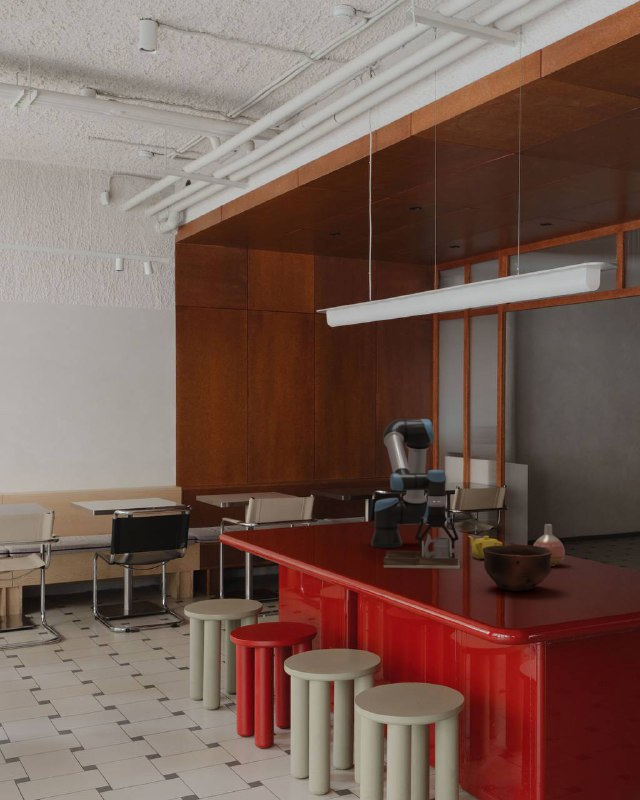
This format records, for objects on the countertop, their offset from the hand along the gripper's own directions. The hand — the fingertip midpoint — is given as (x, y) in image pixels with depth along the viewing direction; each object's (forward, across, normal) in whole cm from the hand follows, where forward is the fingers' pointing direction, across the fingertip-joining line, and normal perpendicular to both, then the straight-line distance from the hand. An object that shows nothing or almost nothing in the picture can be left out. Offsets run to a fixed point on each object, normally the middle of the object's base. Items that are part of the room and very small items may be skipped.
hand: (436, 556), depth 391 cm
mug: (+2, 0, 0) cm, 2 cm away
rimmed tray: (+4, -6, 0) cm, 7 cm away
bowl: (+4, +30, -53) cm, 61 cm away
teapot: (+4, +22, +18) cm, 28 cm away
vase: (+4, +48, +2) cm, 48 cm away
